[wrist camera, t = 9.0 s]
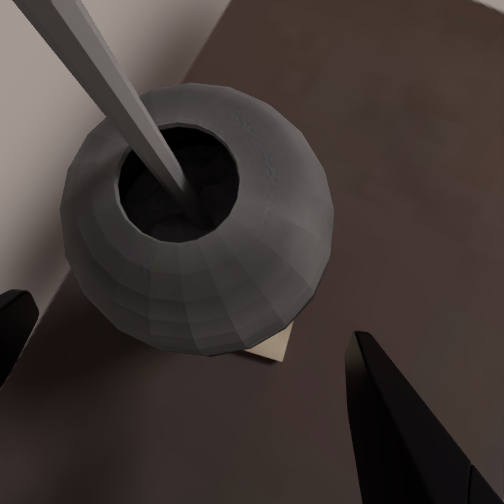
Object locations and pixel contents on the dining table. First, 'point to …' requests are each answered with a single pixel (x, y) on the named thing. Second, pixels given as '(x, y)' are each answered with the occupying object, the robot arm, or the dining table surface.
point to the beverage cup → (186, 203)
